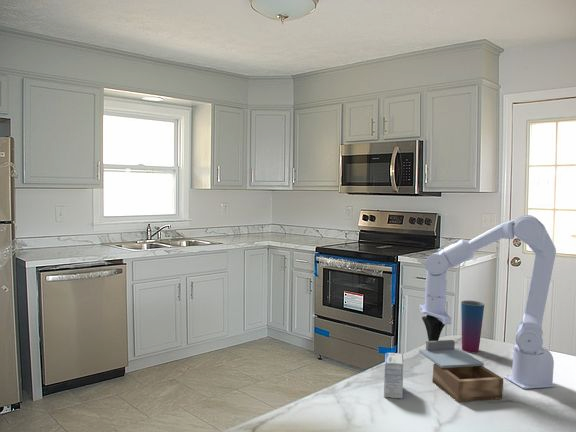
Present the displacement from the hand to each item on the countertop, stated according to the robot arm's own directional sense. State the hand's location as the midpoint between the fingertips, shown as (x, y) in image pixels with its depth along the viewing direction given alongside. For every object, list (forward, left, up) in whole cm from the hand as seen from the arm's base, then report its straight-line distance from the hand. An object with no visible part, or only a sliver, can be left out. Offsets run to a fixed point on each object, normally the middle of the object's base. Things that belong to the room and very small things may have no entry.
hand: (433, 342), depth 143 cm
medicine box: (+19, +15, -7) cm, 25 cm away
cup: (-19, -11, -7) cm, 23 cm away
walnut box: (0, +17, -7) cm, 19 cm away
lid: (0, +9, -1) cm, 9 cm away
